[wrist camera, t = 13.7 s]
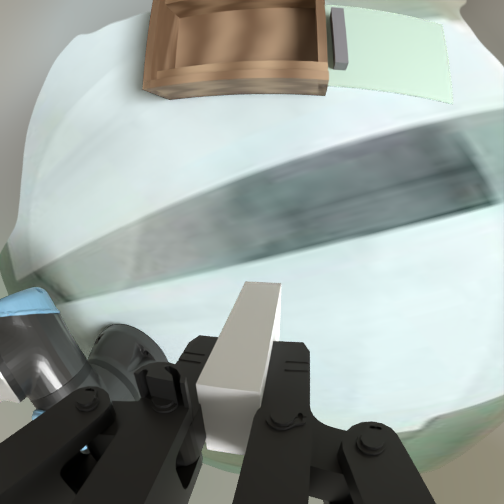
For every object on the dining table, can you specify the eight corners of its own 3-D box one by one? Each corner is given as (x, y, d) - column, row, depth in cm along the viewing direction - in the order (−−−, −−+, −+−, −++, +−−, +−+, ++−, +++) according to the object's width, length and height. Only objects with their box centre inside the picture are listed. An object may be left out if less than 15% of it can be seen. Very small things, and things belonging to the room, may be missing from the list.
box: (169, 99, 35) (142, 89, 28) (177, 9, 30) (155, -13, 24) (325, 95, 31) (329, 79, 25) (321, -2, 27) (322, -30, 20)
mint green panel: (327, 86, 32) (329, 78, 28) (322, 7, 28) (323, -7, 24) (450, 104, 29) (463, 100, 25) (440, 26, 25) (450, 16, 21)
